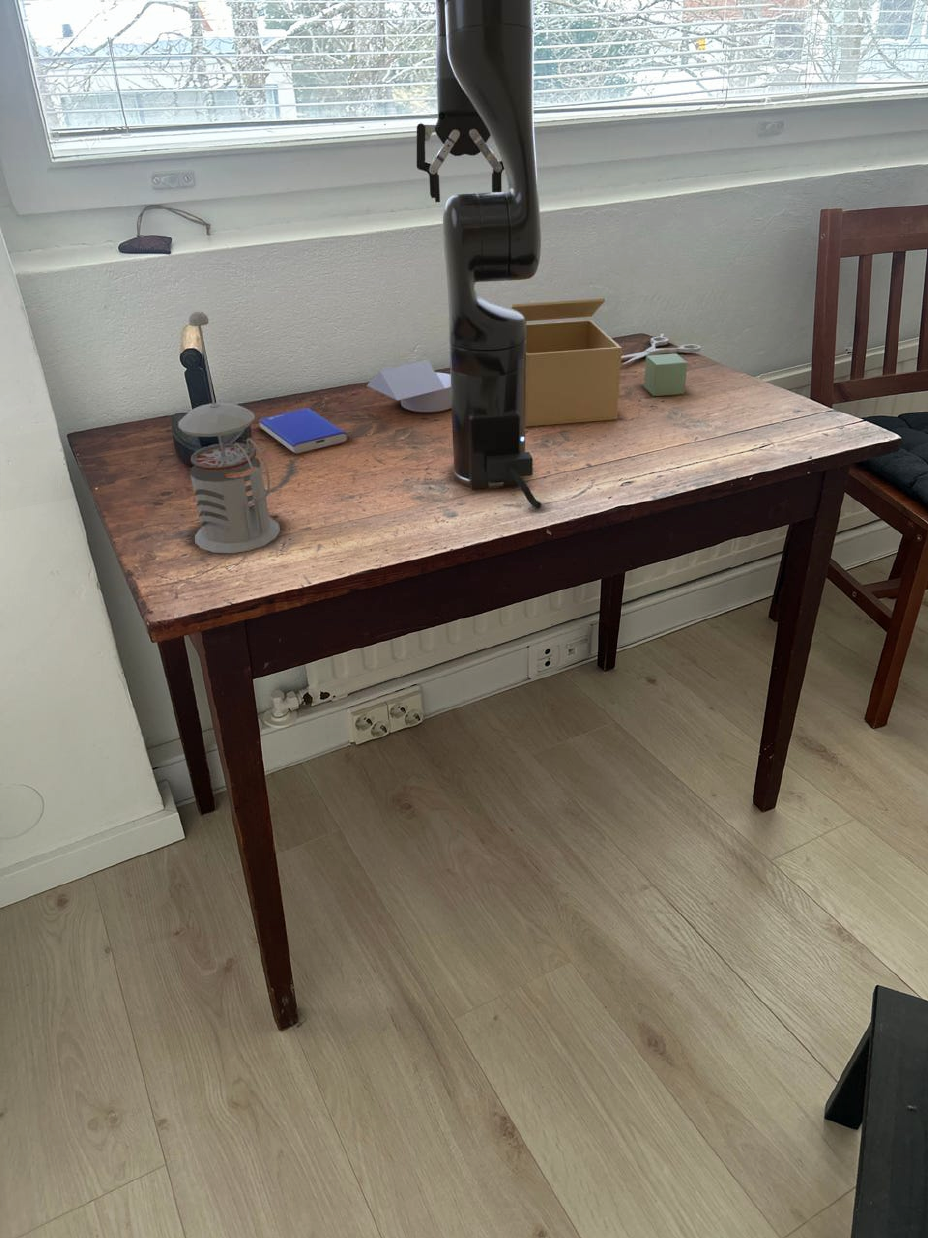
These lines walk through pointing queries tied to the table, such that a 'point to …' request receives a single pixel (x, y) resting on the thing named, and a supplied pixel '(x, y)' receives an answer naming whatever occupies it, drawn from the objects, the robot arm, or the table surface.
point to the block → (665, 374)
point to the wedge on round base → (415, 386)
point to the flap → (558, 309)
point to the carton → (571, 373)
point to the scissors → (663, 341)
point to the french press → (222, 497)
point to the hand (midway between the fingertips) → (466, 200)
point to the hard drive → (302, 430)
